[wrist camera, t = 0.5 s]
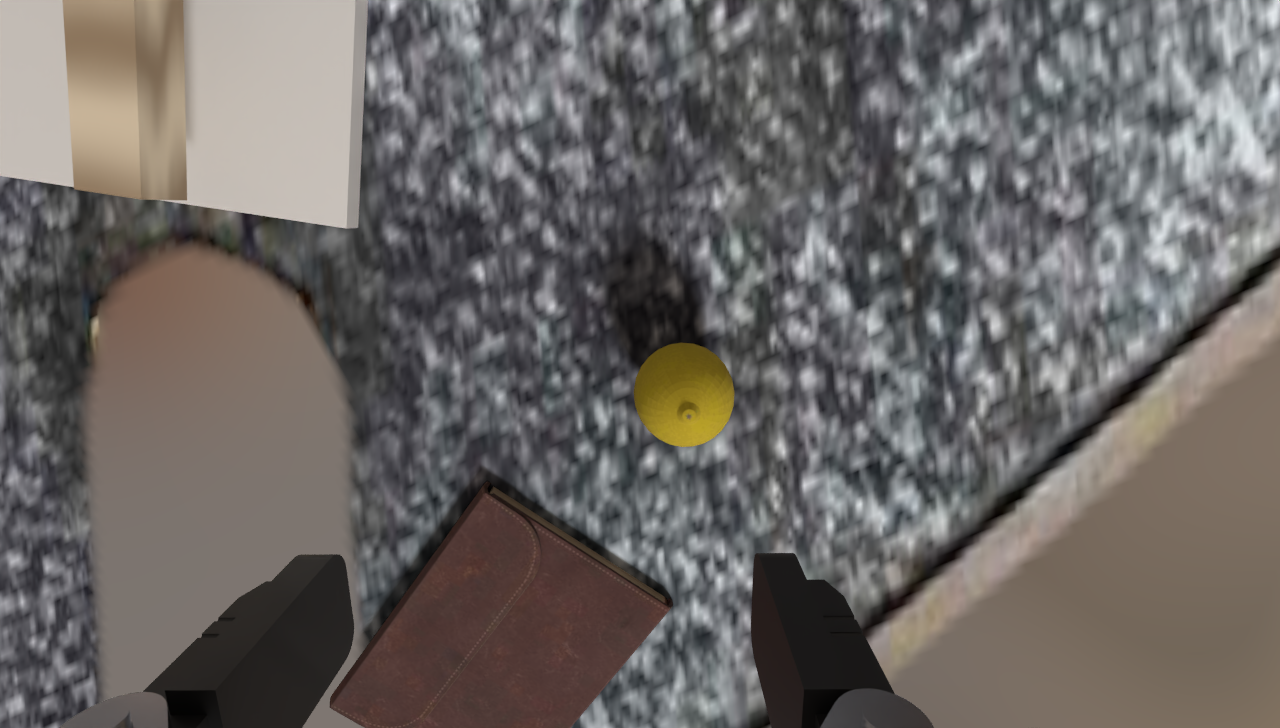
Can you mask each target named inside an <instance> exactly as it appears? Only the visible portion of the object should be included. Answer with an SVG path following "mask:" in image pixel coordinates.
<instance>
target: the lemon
mask: <svg viewBox="0 0 1280 728" xmlns="http://www.w3.org/2000/svg"><path fill="white" fill-rule="evenodd" d="M634 399H635V406H636V409H637V412H638V414H639V417H640V419H641V421H642V422H643V423H644V425H645V426H646V428H647V429H648V430H649V431H650V432H651V433H652V434H653V435H655V436H656V437H657V438H658V439H660V440H662V441H664V442H666V443H668V444H670V445H675V446H680V447H687V446H696V445H699V444H703V443H705V442H707V441H709V440H710V439H712V438H714V437H715V436H716V435H717V434H718V433H719V432H720V431H721V430H722V429H723V428H724V426H725V425H726V423H727V422H728V420H729V418H730V415H731V412H732V409H733V404H734V388H733V383H732V378H731V376H730V374H729V372H728V370H727V368H726V366H725V364H724V363H723V362H722V361H721V360H720V359H719V358H718V357H717V355H715V354H714V353H712V352H711V351H709V350H708V349H706V348H704V347H701V346H699V345H696V344H691V343H676V344H670V345H667V346H665V347H663V348H660V349H658V350H657V351H656V352H654V353H653V354H652V355H650V356H649V357H648V359H647V360H646V361H645V362H644V364H643V365H642V366H641V368H640V370H639V373H638V375H637V377H636V381H635V388H634Z"/></svg>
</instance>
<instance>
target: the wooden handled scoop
mask: <svg viewBox="0 0 1280 728" xmlns="http://www.w3.org/2000/svg"><path fill="white" fill-rule="evenodd" d="M63 17H64V33H65V50H66V66H67V82H68V99H69V115H70V132H71V148H72V164H73V181H74V189H77V190H83V191H90V192H96V193H103V194H109V195H116V196H123V197H129V198H136V199H148V200H187V164H186V113H185V62H184V12H183V0H63Z"/></svg>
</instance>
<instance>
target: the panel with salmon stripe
mask: <svg viewBox="0 0 1280 728" xmlns="http://www.w3.org/2000/svg"><path fill="white" fill-rule="evenodd" d="M183 12H184V62H185V113H186V164H187V200H163V201H169V202H176V203H182V204H189V205H196V206H202V207H209V208H215V209H222V210H229V211H235V212H242V213H248V214H255V215H261V216H268V217H275V218H281V219H288V220H294V221H301V222H307V223H314V224H321V225H327V226H334V227H340V228H358V220H359V197H360V174H361V151H362V128H363V105H364V82H365V59H366V36H367V13H368V0H183ZM0 176H5V177H11V178H18V179H25V180H31V181H38V182H44V183H51V184H58V185H64V186H71V187H74V181H73V164H72V148H71V132H70V115H69V99H68V82H67V66H66V50H65V33H64V17H63V0H0Z"/></svg>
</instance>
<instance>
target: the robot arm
mask: <svg viewBox="0 0 1280 728" xmlns="http://www.w3.org/2000/svg"><path fill="white" fill-rule="evenodd" d="M353 635H354V621H353V614H352V607H351V599H350V592H349V585H348V578H347V570H346V564H345V561H344V559H343V557H342V556H340V555H298V556H296V557H295V558H294V559H293V560H292V561H291V562H290V563H289V564H288V565H287V566H286V567H285V568H284V569H283V570H282V571H281V572H280V573H279V574H278V575H277V576H276V577H275V578H274V579H273V580H272V581H271V582H265V583H263V584H261V585H260V586H258V587H256V588H255V589H253V590H251V591H250V592H248V593H246V594H245V595H243V596H241V597H240V598H238V599H237V600H236V601H235V602H234V603H233V604H232V605H231V606H230V607H229V608H228V609H227V610H226V611H225V612H224V613H223V614H222V615H221V616H220V617H219V619H218V621H217V622H214V623H212V624H211V626H210V627H208V629H206V630H205V631H204V632H203V634H202V637H201V638H197V639H196V640H195V641H194V642H193V643H192V644H191V645H190V646H189V647H188V648H187V649H186V650H185V651H184V652H183V653H182V654H181V655H180V656H179V657H178V658H177V659H176V660H175V661H174V662H173V663H172V664H171V665H170V666H169V667H168V668H167V669H166V670H165V671H163V672H162V674H160V675H159V676H158V678H156V679H155V680H154V681H153V682H152V683H151V684H150V685H149V686H148V687H147V688H146V689H145V690H144V691H143V692H136V693H129V694H125V695H121V696H117V697H114V698H111V699H108V700H105V701H103V702H101V703H98V704H96V705H94V706H92V707H90V708H88V709H86V710H84V711H82V712H81V713H79V714H77V715H76V716H74V717H73V718H71V719H70V720H68V721H67V722H66V723H64V724H63V725H62V726H60V727H59V728H302V727H303V725H304V724H305V722H306V721H307V719H308V718H309V716H310V714H311V713H312V711H313V710H314V708H315V707H316V705H317V704H318V702H319V701H320V699H321V697H322V696H323V694H324V693H325V691H326V690H327V688H328V687H329V685H330V684H331V682H332V680H333V679H334V677H335V676H336V674H337V673H338V671H339V670H340V668H341V667H342V665H343V663H344V662H345V660H346V658H347V657H348V654H349V652H350V649H351V646H352V641H353ZM751 637H752V648H753V654H754V659H755V663H756V667H757V671H758V675H759V679H760V683H761V687H762V691H763V695H764V699H765V703H766V707H767V711H768V715H769V719H770V723H771V727H772V728H934V727H933V725H932V723H931V722H930V720H929V719H928V718H927V716H926V715H925V714H924V713H923V712H922V711H921V710H920V709H919V708H917V707H916V706H915V705H914V704H912V703H910V702H909V701H907V700H906V699H904V698H902V697H900V696H898V695H895V694H894V692H893V690H892V688H891V686H890V684H889V682H888V680H887V678H886V676H885V674H884V672H883V670H882V669H881V667H880V665H879V663H878V661H877V659H876V657H875V655H874V653H873V651H872V649H871V647H870V645H869V644H868V642H867V640H866V638H865V636H863V634H862V630H861V628H860V626H859V624H858V622H857V620H854V615H853V613H852V611H851V609H850V607H849V605H848V603H847V601H846V599H845V597H844V596H843V595H842V594H841V593H839V592H838V591H837V590H836V589H835V588H833V587H832V586H831V585H830V584H829V583H828V582H826V581H825V580H807V579H806V577H805V575H804V572H803V570H802V568H801V566H800V563H799V561H798V559H797V557H796V555H795V554H794V553H757V554H756V555H755V558H754V568H753V591H752V614H751Z"/></svg>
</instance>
